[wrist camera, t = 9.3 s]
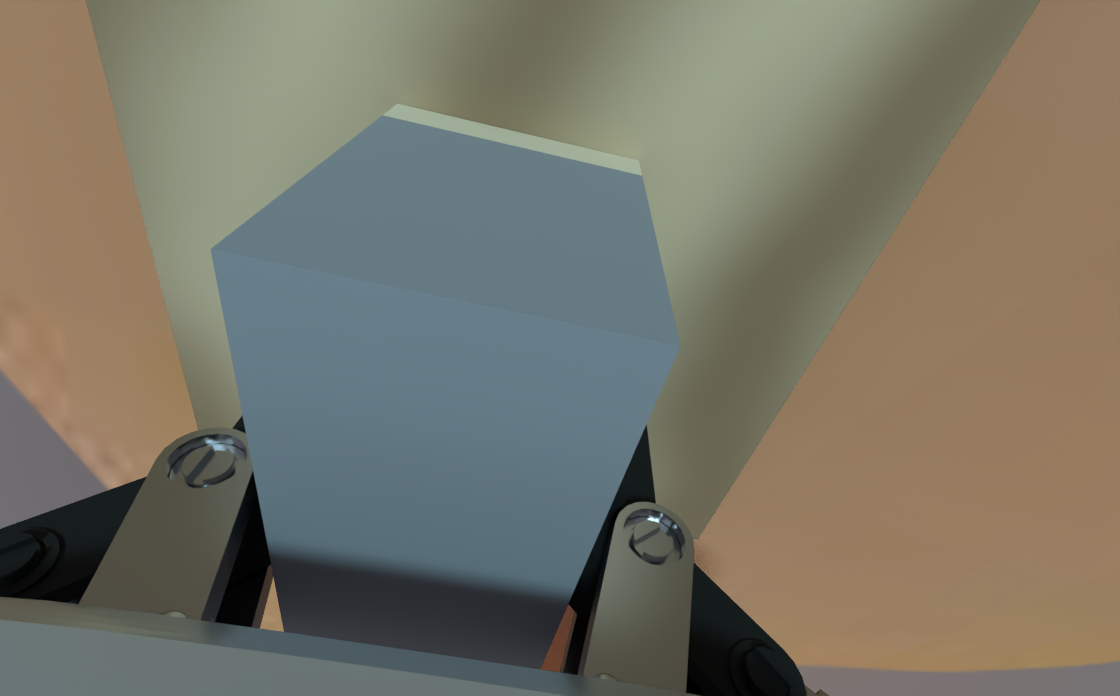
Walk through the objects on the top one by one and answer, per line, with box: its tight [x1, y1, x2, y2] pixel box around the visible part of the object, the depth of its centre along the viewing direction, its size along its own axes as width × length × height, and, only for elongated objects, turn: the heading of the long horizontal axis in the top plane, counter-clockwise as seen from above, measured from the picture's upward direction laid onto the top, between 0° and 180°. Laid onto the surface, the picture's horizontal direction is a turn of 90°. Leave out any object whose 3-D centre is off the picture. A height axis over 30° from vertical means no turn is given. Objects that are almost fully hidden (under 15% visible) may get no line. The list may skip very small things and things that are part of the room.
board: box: [86, 0, 1040, 539], centre depth 10 cm, size 14×18×1 cm
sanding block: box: [211, 104, 680, 670], centre depth 9 cm, size 4×8×6 cm, turn 168°
